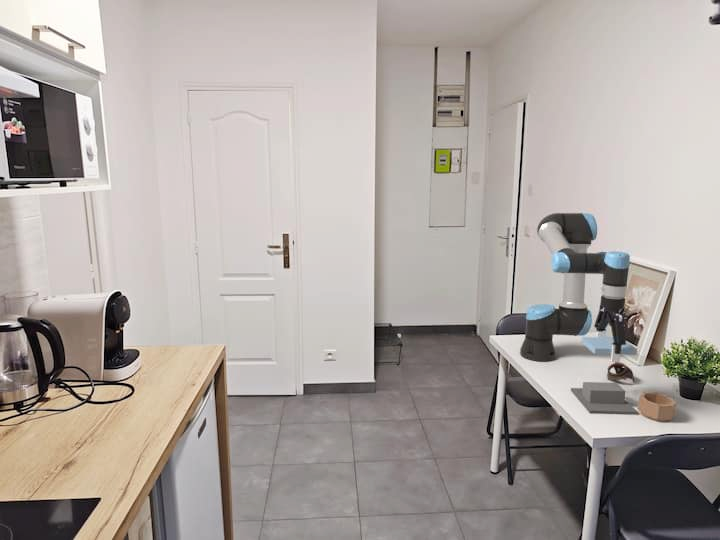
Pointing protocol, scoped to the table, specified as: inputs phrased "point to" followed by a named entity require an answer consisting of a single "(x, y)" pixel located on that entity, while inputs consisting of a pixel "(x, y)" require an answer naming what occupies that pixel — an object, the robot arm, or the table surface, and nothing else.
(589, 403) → the grey stepped plinth
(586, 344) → the cover sheet
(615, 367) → the brown openwork dome
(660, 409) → the brown octagonal bowl
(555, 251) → the robot arm
